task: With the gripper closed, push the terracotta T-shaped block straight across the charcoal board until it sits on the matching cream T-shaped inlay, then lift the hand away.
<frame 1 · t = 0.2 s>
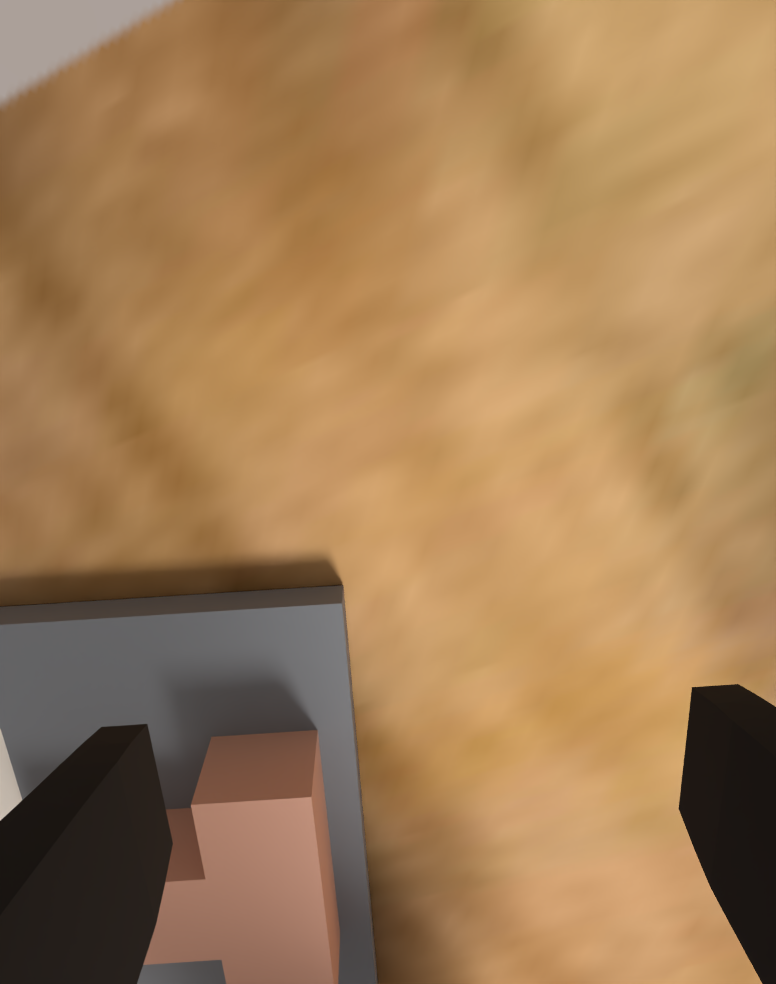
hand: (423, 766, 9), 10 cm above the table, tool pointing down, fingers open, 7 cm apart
t block: (280, 840, 21), point 1 cm above the table, touching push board
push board: (45, 830, 22), on the table
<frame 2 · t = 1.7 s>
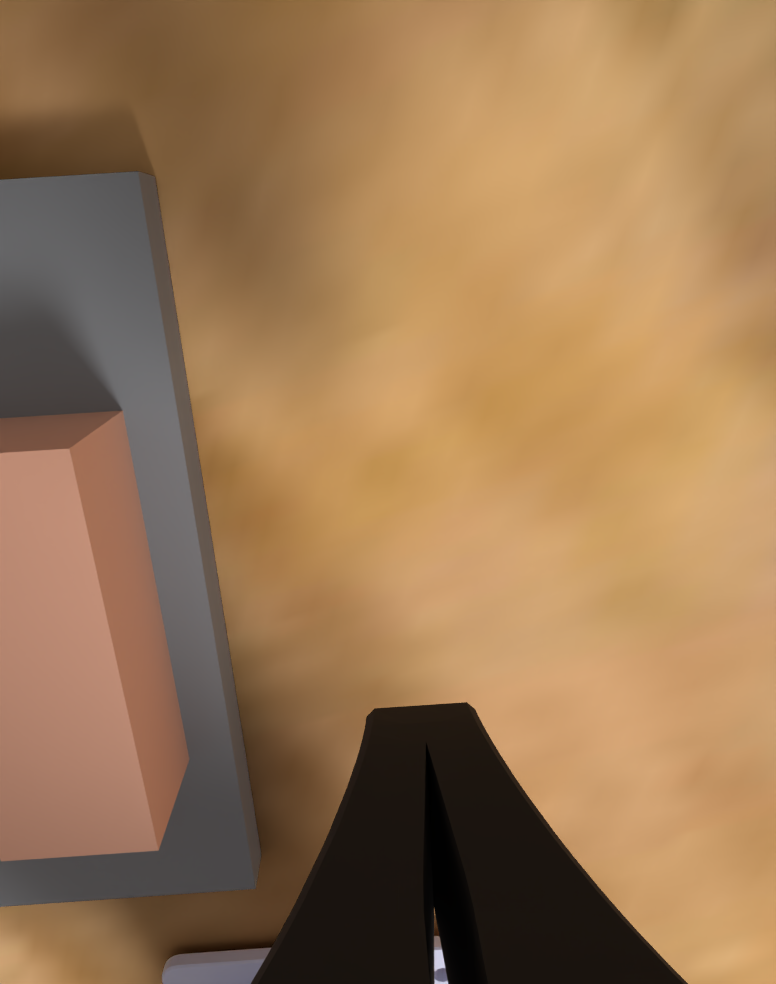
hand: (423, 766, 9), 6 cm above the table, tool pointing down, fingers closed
t block: (85, 606, 14), point 1 cm above the table, touching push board
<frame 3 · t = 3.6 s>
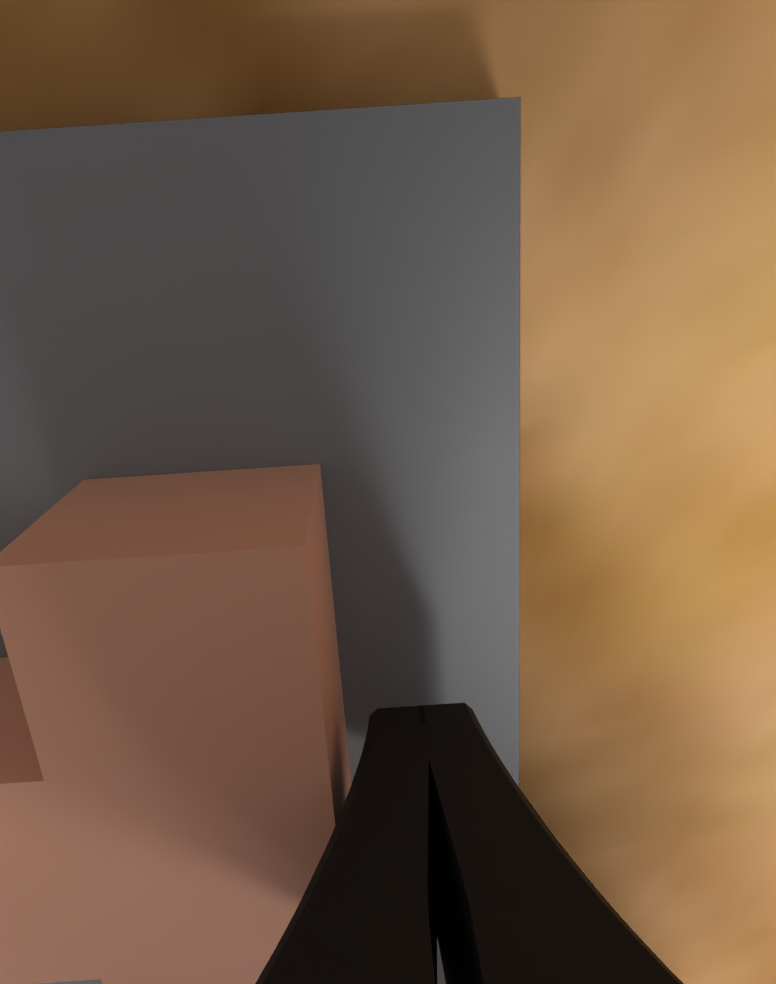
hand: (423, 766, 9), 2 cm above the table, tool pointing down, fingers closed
t block: (243, 730, 10), point 1 cm above the table, touching gripper
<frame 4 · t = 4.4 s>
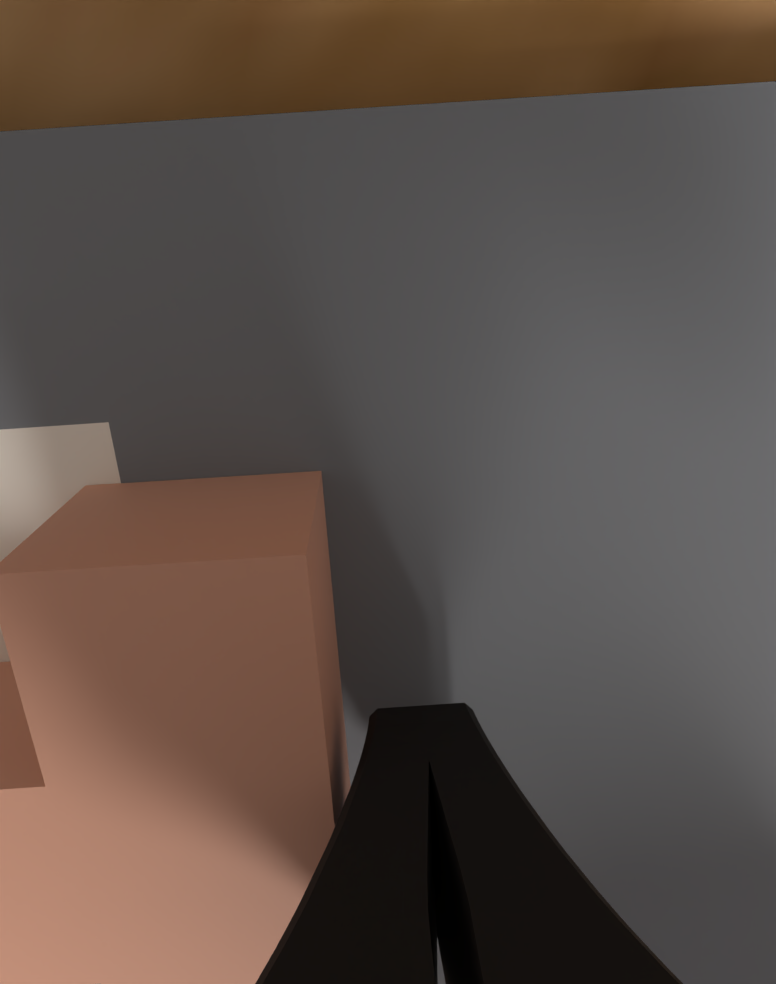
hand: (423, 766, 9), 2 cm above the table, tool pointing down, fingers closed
t block: (243, 735, 10), point 1 cm above the table, touching gripper
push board: (173, 695, 11), on the table
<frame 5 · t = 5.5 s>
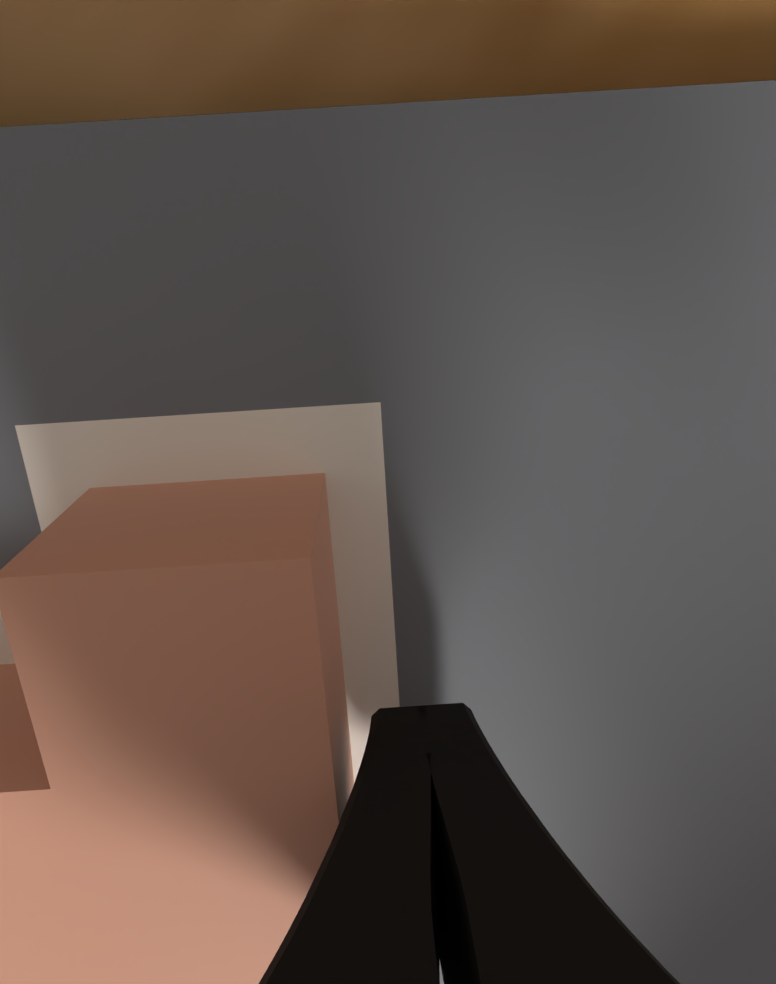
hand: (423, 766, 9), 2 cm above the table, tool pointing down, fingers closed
t block: (247, 736, 10), point 1 cm above the table, touching gripper, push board
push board: (381, 680, 11), on the table
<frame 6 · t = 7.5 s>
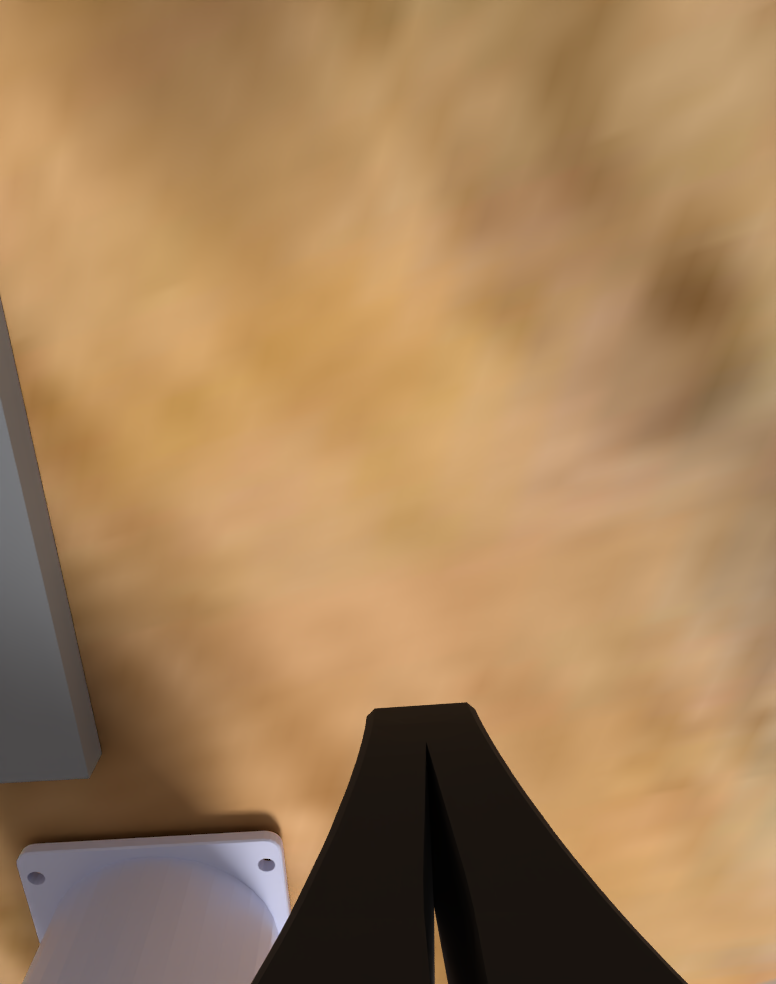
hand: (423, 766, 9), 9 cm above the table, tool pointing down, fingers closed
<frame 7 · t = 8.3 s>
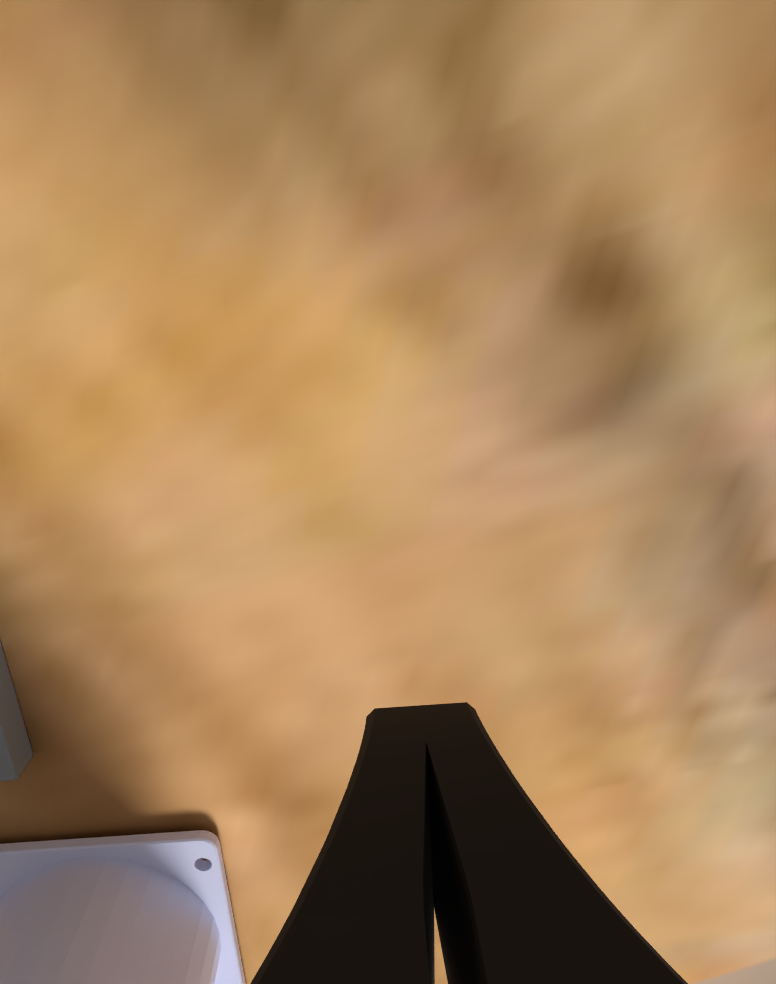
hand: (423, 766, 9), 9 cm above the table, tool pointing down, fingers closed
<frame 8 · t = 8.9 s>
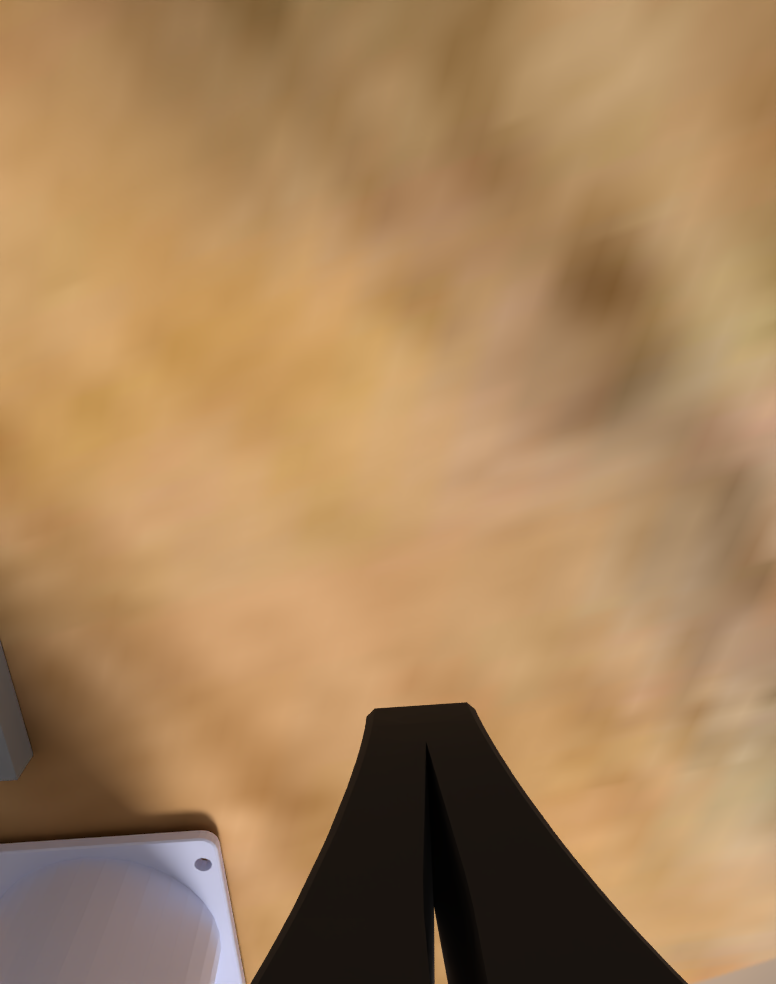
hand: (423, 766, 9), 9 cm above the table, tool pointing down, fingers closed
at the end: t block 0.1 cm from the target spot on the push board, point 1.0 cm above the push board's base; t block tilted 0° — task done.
